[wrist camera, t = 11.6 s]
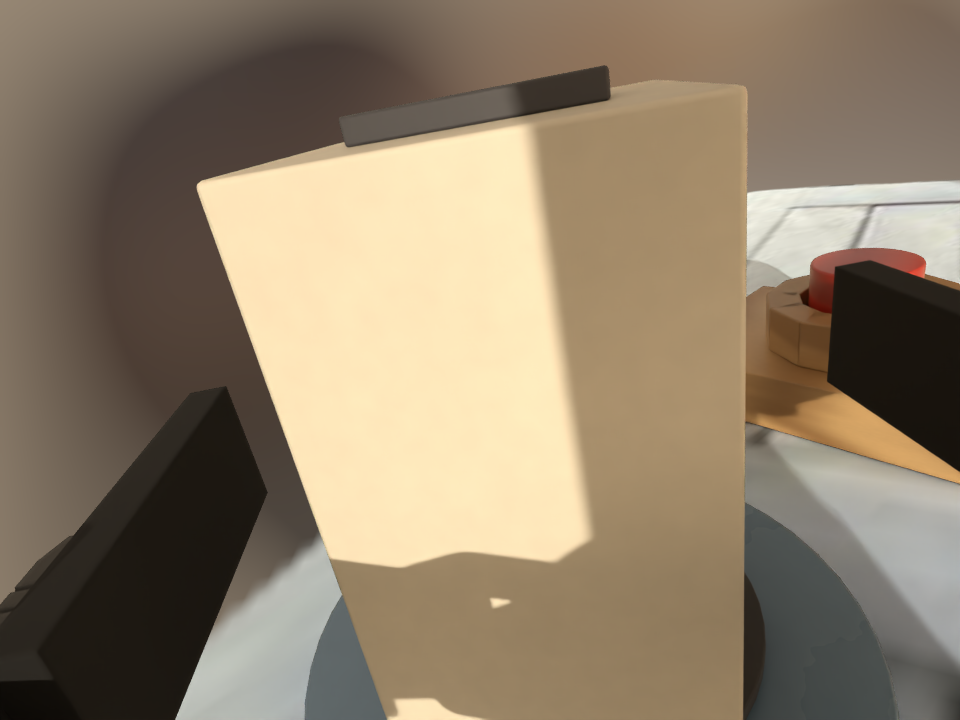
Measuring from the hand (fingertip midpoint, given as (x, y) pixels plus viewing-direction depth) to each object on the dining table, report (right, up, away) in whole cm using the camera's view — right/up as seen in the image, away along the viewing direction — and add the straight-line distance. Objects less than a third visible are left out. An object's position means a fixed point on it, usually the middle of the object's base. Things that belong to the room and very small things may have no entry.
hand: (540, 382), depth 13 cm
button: (+13, +3, +10) cm, 17 cm away
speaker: (+1, -6, +1) cm, 6 cm away
